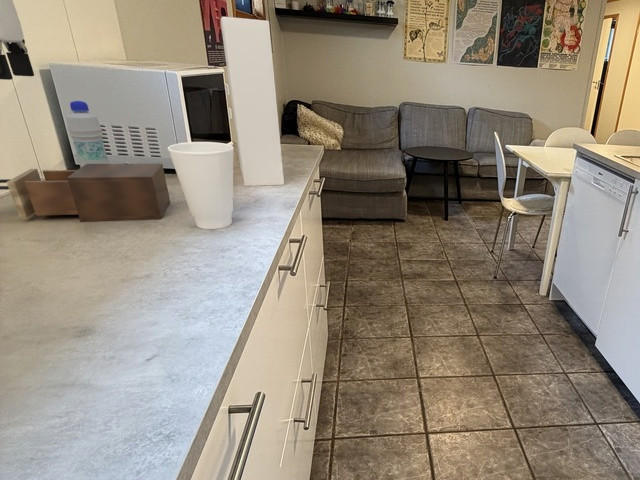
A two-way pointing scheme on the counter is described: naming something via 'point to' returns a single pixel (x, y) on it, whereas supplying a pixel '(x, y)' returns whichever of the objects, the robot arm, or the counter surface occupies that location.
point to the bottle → (86, 135)
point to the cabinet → (119, 192)
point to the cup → (206, 181)
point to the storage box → (253, 99)
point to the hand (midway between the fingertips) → (13, 77)
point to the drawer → (41, 193)
